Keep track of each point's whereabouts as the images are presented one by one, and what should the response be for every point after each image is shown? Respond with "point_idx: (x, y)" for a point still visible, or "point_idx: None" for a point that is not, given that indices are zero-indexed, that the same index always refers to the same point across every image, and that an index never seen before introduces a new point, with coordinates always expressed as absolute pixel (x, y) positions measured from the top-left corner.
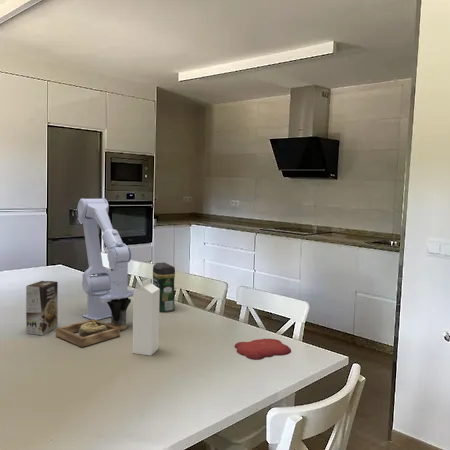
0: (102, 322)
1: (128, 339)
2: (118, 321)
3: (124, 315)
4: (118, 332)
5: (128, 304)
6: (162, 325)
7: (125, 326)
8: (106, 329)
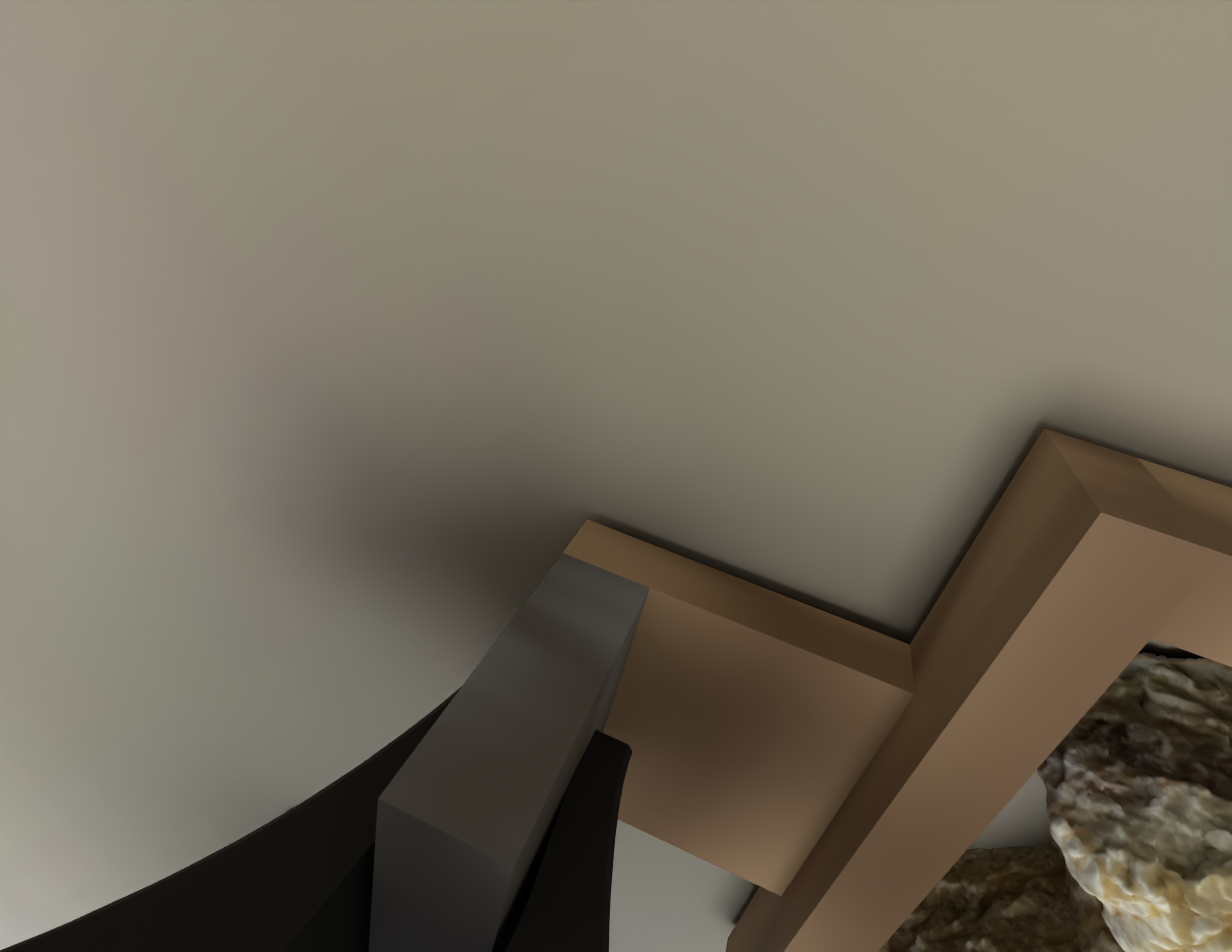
0: (814, 938)
1: (1218, 90)
2: (600, 723)
3: (506, 726)
4: (1123, 479)
5: (102, 936)
6: (58, 22)
7: (585, 545)
8: (1137, 778)
